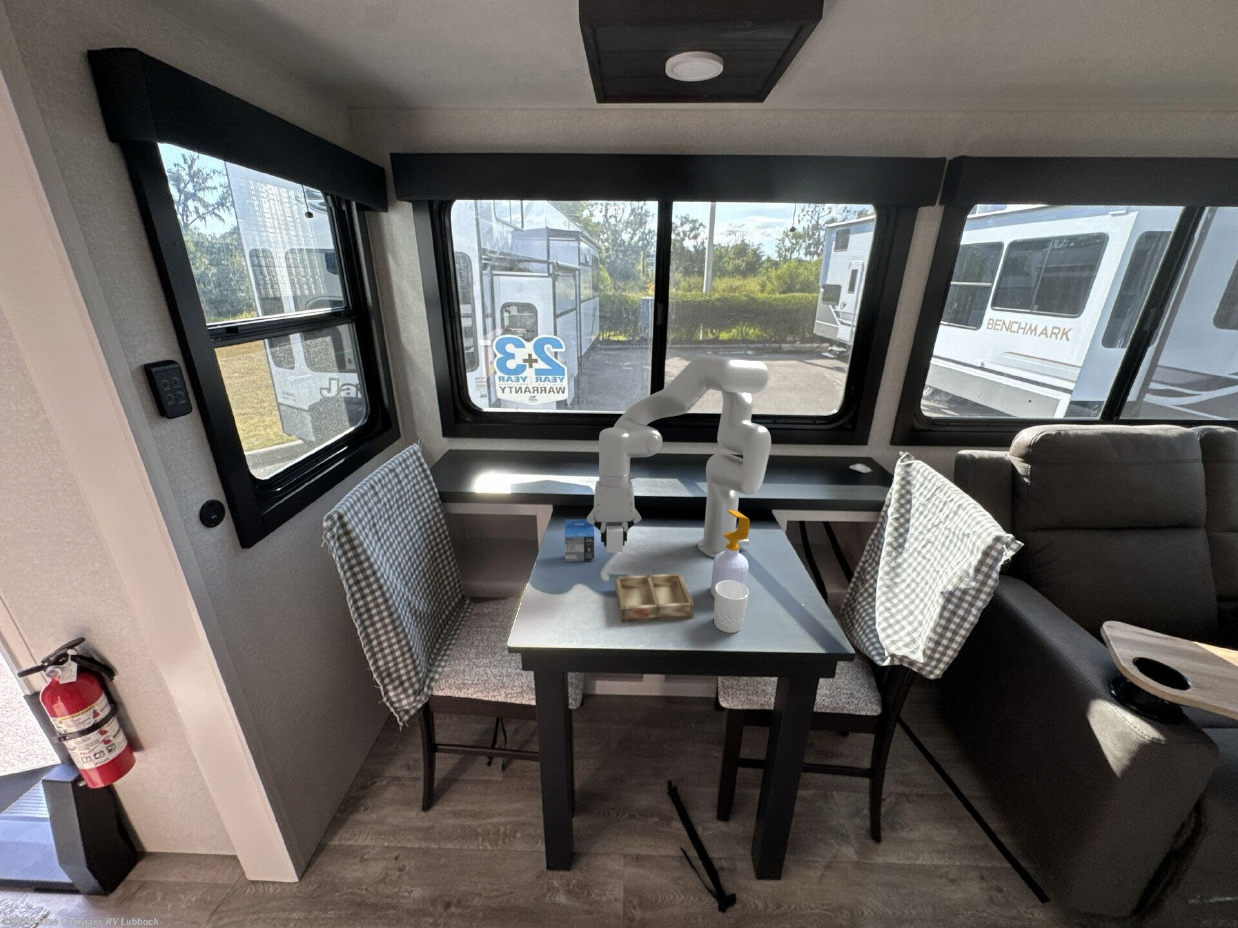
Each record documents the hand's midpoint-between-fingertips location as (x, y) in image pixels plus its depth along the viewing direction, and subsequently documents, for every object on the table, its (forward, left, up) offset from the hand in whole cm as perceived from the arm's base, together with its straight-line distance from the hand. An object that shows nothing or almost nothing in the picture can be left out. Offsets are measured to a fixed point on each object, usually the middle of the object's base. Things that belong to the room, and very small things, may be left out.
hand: (613, 543), depth 123 cm
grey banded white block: (0, 0, 0) cm, 0 cm away
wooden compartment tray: (-10, +6, -15) cm, 19 cm away
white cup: (-27, +16, -15) cm, 35 cm away
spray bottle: (-31, +4, -15) cm, 34 cm away
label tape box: (+8, -18, -15) cm, 25 cm away
